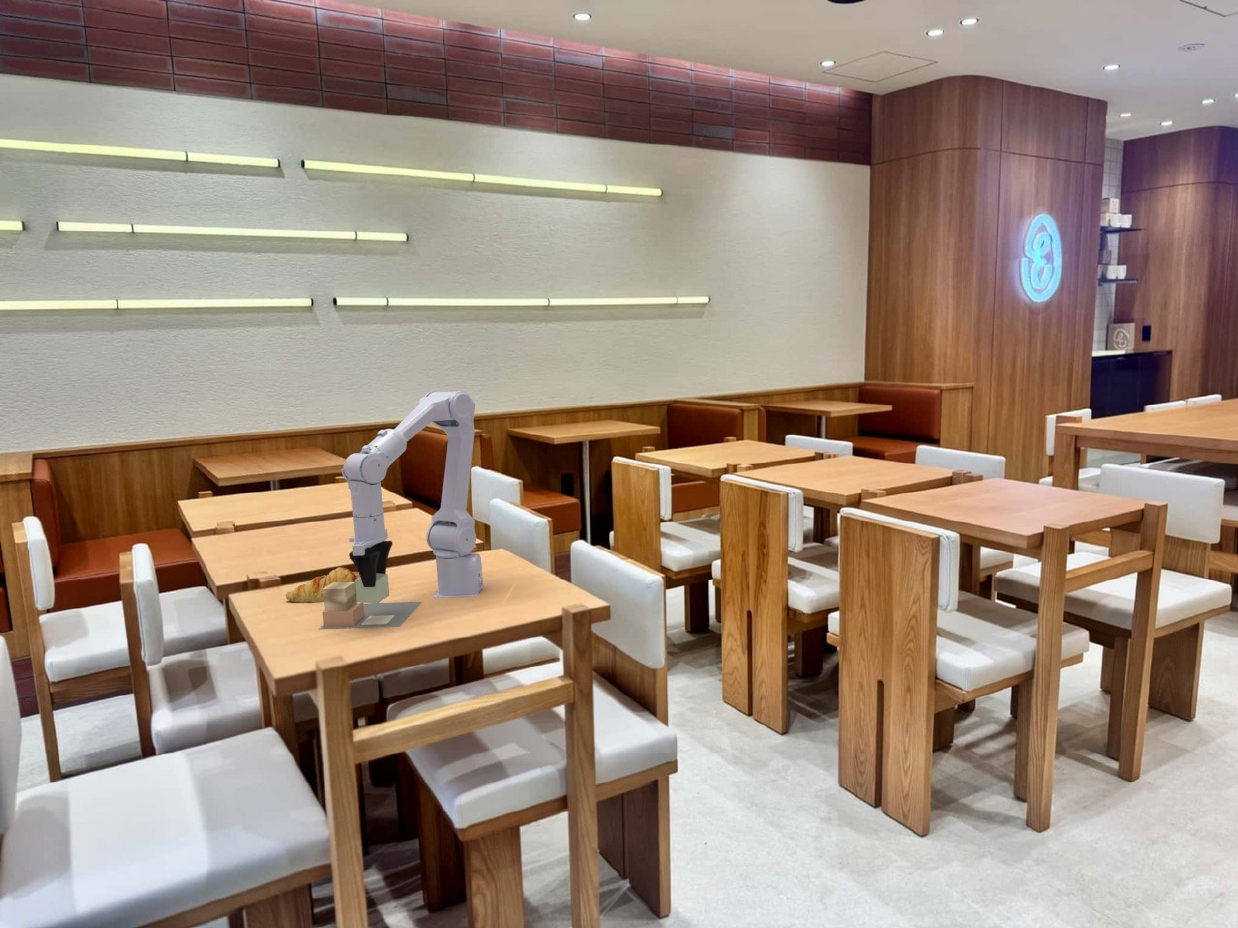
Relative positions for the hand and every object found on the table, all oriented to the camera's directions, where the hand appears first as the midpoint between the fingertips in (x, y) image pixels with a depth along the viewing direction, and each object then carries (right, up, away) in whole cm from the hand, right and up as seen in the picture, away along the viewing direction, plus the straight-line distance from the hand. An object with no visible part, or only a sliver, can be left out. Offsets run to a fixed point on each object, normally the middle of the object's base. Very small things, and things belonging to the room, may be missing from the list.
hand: (374, 582), depth 165 cm
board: (-2, -8, +5) cm, 9 cm away
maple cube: (-7, -5, +1) cm, 8 cm away
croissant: (-14, -7, +21) cm, 26 cm away
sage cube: (0, -3, +1) cm, 3 cm away
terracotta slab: (-6, -8, +1) cm, 10 cm away
